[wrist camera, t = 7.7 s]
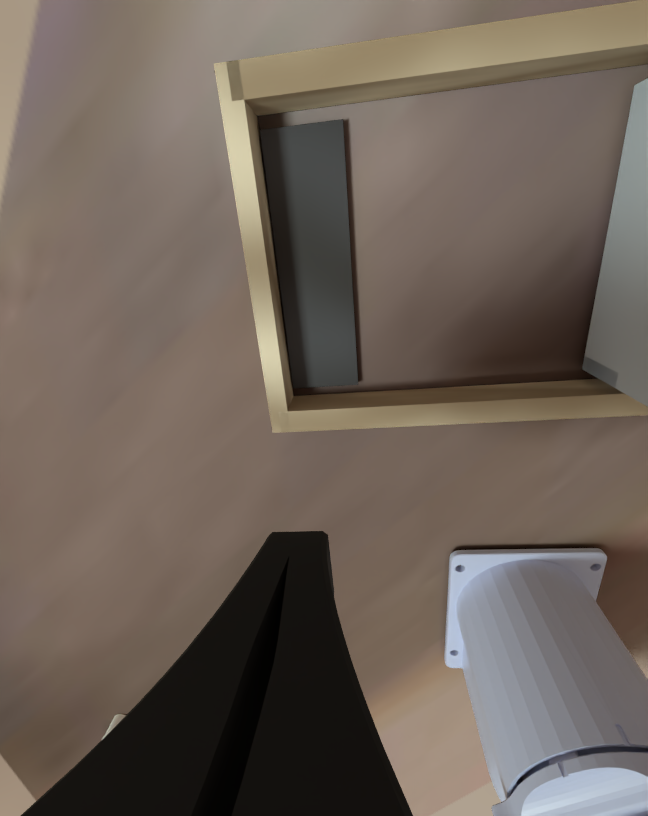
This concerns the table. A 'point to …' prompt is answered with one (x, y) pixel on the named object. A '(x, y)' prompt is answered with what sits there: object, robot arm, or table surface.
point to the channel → (328, 207)
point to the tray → (625, 270)
